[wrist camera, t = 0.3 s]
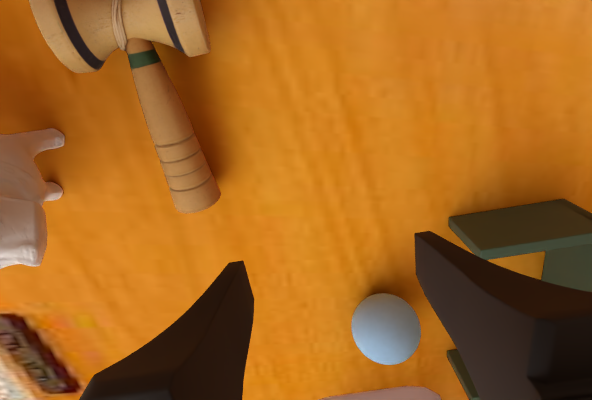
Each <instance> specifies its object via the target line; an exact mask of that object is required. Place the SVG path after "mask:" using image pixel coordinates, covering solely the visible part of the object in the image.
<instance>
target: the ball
mask: <svg viewBox="0 0 592 400" xmlns="http://www.w3.org/2000/svg"><path fill="white" fill-rule="evenodd" d="M352 334H353V338H354V340H355V343H356V345H357V346H358V348H359V349H360V351H361V352H362V353H363V354H364V355H365V356H367V357H368V358H369V359H371V360H372V361H375V362H377V363H380V364H385V365H394V364H398V363H401V362H403V361H405V360H407V359H408V358H410V357H411V356H412V355H413V353H414V352H415V351H416V349H417V347H418V345H419V342H420V337H421V328H420V322H419V319H418V317H417V315H416V313H415V311H414V310H413V308H412V307H411V306H410V305H409V304H408V303H407V302H406V301H405V300H403V299H402V298H400V297H398V296H395V295H392V294H388V293H378V294H374V295H371V296H369V297H367V298H365V299H364V300H363V301H362V302H361V303H360V304H359V305H358V306H357V308H356V310H355V312H354V314H353V317H352Z"/></svg>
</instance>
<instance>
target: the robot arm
mask: <svg viewBox="0 0 592 400" xmlns="http://www.w3.org/2000/svg"><path fill="white" fill-rule="evenodd" d="M415 261H416V275H417V278H418V280H419V283H420V285H421V287H422V289H423V292H424V294H425V296H426V297H427V299H428V301H429V303H430V304H431V306H432V308H433V309H434V311H435V312H436V314H437V316H438V317H439V319H440V321H441V322H442V324H443V326H444V327H445V329H446V330H447V332H448V334H449V335H450V337H451V339H452V340H453V342H454V344H455V346H456V348H457V349H458V351H459V354H460V356H461V358H462V360H463V362H464V364H465V366H466V368H467V370H468V372H469V375H470V377H471V379H472V381H473V384H474V386H475V388H476V390H477V392H478V395H479V397H480V399H481V400H592V292H588V291H583V290H578V289H574V288H569V287H565V286H560V285H556V284H552V283H549V282H545V281H542V280H538V279H535V278H531V277H528V276H525V275H522V274H519V273H516V272H514V271H511V270H508V269H506V268H503V267H500V266H498V265H496V264H493V263H491V262H489V261H487V260H484V259H482V258H480V257H478V256H476V255H474V254H472V253H470V252H468V251H466V250H464V249H462V248H460V247H458V246H457V245H455V244H453V243H451V242H449V241H447V240H446V239H444V238H442V237H440V236H438V235H437V234H435V233H433V232H431V231H426V232H420V233H415ZM253 314H254V297H253V294H252V290H251V286H250V283H249V279H248V276H247V272H246V268H245V265H244V261H237V262H231V263H229V264H228V265H227V266H226V267H225V268H224V270H223V271H222V272H221V273H220V275H219V276H218V277H217V278H216V280H215V281H214V282H213V283H212V284H211V285H210V287H209V288H208V289H207V290H206V291H205V293H204V294H203V295H202V296H201V297H200V298H199V299H198V300H197V301H196V302H195V303H194V304H193V305H192V306H191V308H190V309H189V310H187V311H186V312H185V313H184V314H183V315H182V316H181V317H180V318H179V319H178V320H177V321H175V322H174V323H173V324H172V325H171V326H170V327H168V328H167V329H166V330H164V331H163V332H162V333H161V334H159V335H158V336H157V337H155V338H154V339H153V340H151V341H150V342H149V343H147V344H146V345H144V346H143V347H141V348H140V349H138V350H137V351H135V352H134V353H132V354H130V355H129V356H127V357H126V358H124V359H122V360H121V361H119V362H117V363H115V364H113V365H112V366H110V367H108V368H106V369H104V370H102V371H101V372H99V373H97V374H95V375H94V376H93V378H92V379H91V381H90V382H89V384H88V386H87V387H86V389H85V391H84V392H83V394H82V396H81V397H80V399H79V400H242V393H243V379H244V372H245V365H246V360H247V354H248V348H249V343H250V337H251V331H252V325H253ZM319 400H441V398H440V395H439V394H437V393H435V392H433V391H431V390H429V389H428V388H426V387H420V386H402V387H394V388H387V389H380V390H373V391H365V392H358V393H351V394H344V395H336V396H329V397H325V398H322V399H319Z"/></svg>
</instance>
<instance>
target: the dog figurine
mask: <svg viewBox="0 0 592 400" xmlns="http://www.w3.org/2000/svg"><path fill="white" fill-rule="evenodd" d="M64 139H65V136H64V135H63V134H62V133H61V132H60V131H58V130H56V129H54V128H48V129H45V130H38V131H31V132H25V133H16V134H10V135H4V134H0V269H1V268H4V267H7V266H10V265H15V264H23V265H28V266H39V265H40V264H41V262H42V259H43V256H44V253H45V250H46V246H47V226H46V215H45V212H44V209H43V207H42V205H43V202H44V201H49V200H56V199H59V198H60V197H61V196H62V194H63V190H62V188H61V187H60V186H59V185H57V184H56V183H53V182H44V180H43V178H42V176H41V174H40V171H39V169H38V167H37V165H36V164H35V162H34V161H33V159H34V157H35V156H36V155H37V154H38V153H40V152H42V151H45V150H49V149H56V148H59V147H62V146H64Z"/></svg>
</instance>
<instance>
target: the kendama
mask: <svg viewBox="0 0 592 400" xmlns="http://www.w3.org/2000/svg"><path fill="white" fill-rule="evenodd" d="M29 3H30V7H31V10H32V13H33V15H34V18H35V21H36V23H37V25H38V28H39V30H40V32H41V33H42V35H43V37H44V39H45V41H46V43H47V44H48V46H49V47H50V48H51V50H52V51H53V53H54V54H55V56H56V57H57V58H58V59H59V60H60V61H61V62H62V63H63V64H64V65H65V66H66V67H67V68H68V69H70V70H71V71H73V72H76V73H87V72H95V71H98V70H100V69H101V67H102V66H103V64H104V62H105V60H106V59H107V57H108V56H109V55H110V54H111V53H112V52H113V51H114V50H115V49H117V48H119V47H120V49H121V50H124V51H126V52H127V54H128V58H129V62H130V67H131V70H132V74H133V78H134V81H135V85H136V89H137V92H138V96H139V100H140V103H141V107H142V110H143V113H144V116H145V120H146V122H147V126H148V129H149V131H150V134H151V137H152V140H153V142H154V143H155V148H156V151H157V154H158V157H159V158H160V162H161V165H162V168H163V171H164V173H165V177H166V180H167V183H168V185H169V188H170V192H171V195H172V199H173V202H174V205H175V207H176V209H177V210H178V211H179V212H181V213H195V212H199V211H202V210H204V209H207V208H209V207H210V206H212V205H213V204H215V203H216V202H217V201H218V199H219V198H220V195H221V192H220V190H219V187H218V185H217V183H216V181H215V179H214V177H213V175H212V173H211V170H210V168H209V165H208V163H207V161H206V160H205V156H204V154H203V151H202V149H201V147H200V144H199V142H198V140H197V137H196V135H195V133H194V132H193V127H192V125H191V122H190V120H189V118H188V115H187V113H186V111H185V108H184V106H183V104H182V102H181V99H180V97H179V95H178V93H177V91H176V89H175V87H174V85H173V83H172V81H171V79H170V78H169V76H168V74H167V72H166V70H165V67H164V66H163V64H162V62H161V60H160V58H159V56H158V54H157V52H156V50H155V48H154V46H153V44H152V42H151V41H155V42H159V43H163V44H166V45H169V46H172V47H174V48H176V49H178V50H180V51H181V52H183V53H185V54H186V55H187V56H189V57H193V56H198V55H202V54H206V53H210V50H211V46H210V40H209V35H208V31H207V28H206V23H205V19H204V14H203V10H202V6H201V2H200V0H29Z"/></svg>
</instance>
